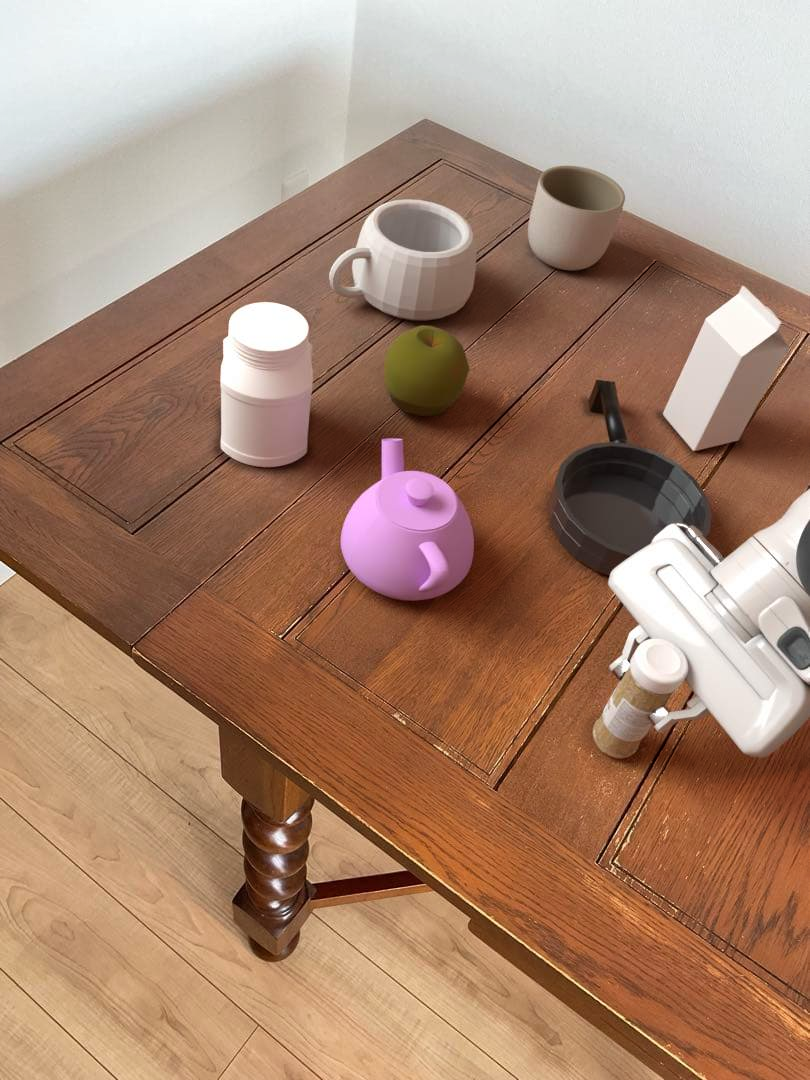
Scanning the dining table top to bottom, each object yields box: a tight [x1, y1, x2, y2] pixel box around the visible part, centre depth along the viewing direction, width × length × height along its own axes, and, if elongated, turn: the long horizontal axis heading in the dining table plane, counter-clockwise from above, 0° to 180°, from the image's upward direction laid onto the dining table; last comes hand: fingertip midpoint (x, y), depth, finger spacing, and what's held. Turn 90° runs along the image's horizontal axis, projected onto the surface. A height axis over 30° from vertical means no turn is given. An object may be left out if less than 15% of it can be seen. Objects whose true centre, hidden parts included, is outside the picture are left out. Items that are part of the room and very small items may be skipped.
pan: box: [546, 441, 713, 577], centre depth 108 cm, size 17×17×4 cm
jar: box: [219, 301, 314, 468], centre depth 105 cm, size 12×10×15 cm
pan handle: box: [588, 379, 629, 444], centre depth 117 cm, size 2×13×5 cm, turn 0°
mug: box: [328, 198, 477, 322], centre depth 129 cm, size 21×17×10 cm
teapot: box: [340, 438, 475, 602], centre depth 98 cm, size 14×20×11 cm
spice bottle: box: [592, 639, 688, 760], centre depth 85 cm, size 5×5×14 cm
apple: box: [383, 325, 470, 417], centre depth 114 cm, size 10×10×11 cm
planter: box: [527, 165, 626, 271], centre depth 141 cm, size 12×12×11 cm
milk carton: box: [662, 285, 790, 452], centre depth 116 cm, size 7×7×19 cm
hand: (634, 700), depth 85 cm, fingers closed on spice bottle, 4 cm apart
